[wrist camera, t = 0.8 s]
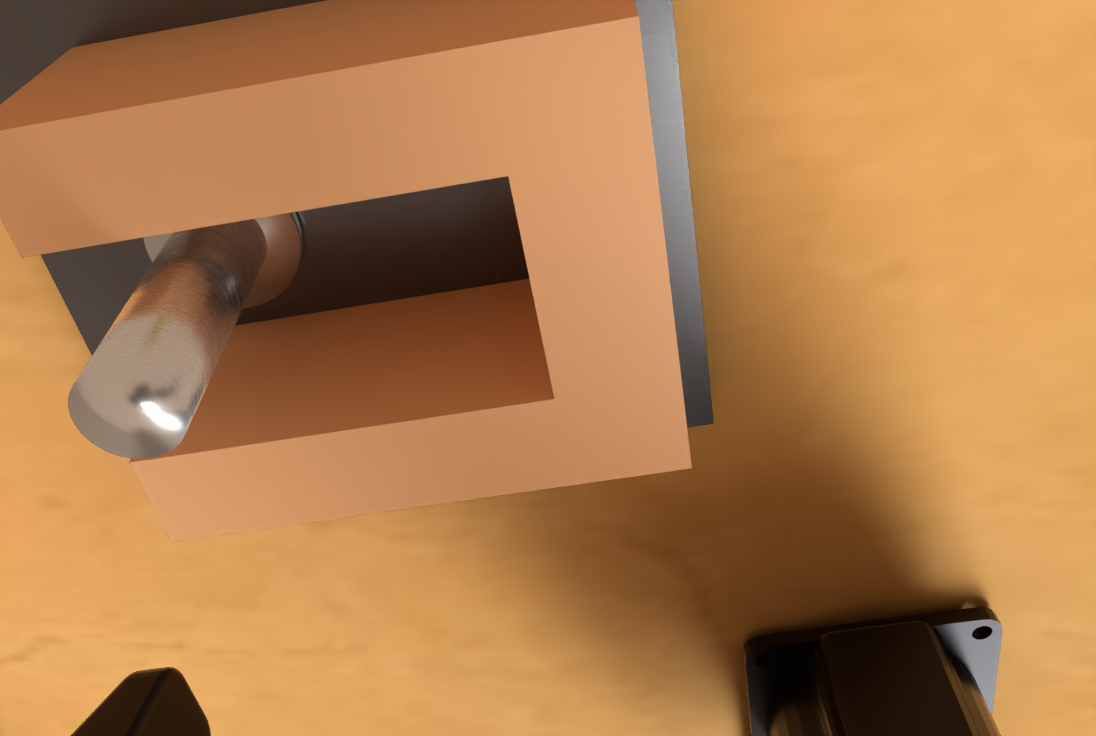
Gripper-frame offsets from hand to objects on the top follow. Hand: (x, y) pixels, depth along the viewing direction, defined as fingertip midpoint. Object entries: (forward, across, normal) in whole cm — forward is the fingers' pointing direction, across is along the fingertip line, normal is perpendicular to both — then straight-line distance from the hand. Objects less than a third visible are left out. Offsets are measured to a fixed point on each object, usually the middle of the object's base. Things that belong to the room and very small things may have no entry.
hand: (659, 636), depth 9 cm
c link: (+11, +4, 0) cm, 11 cm away
